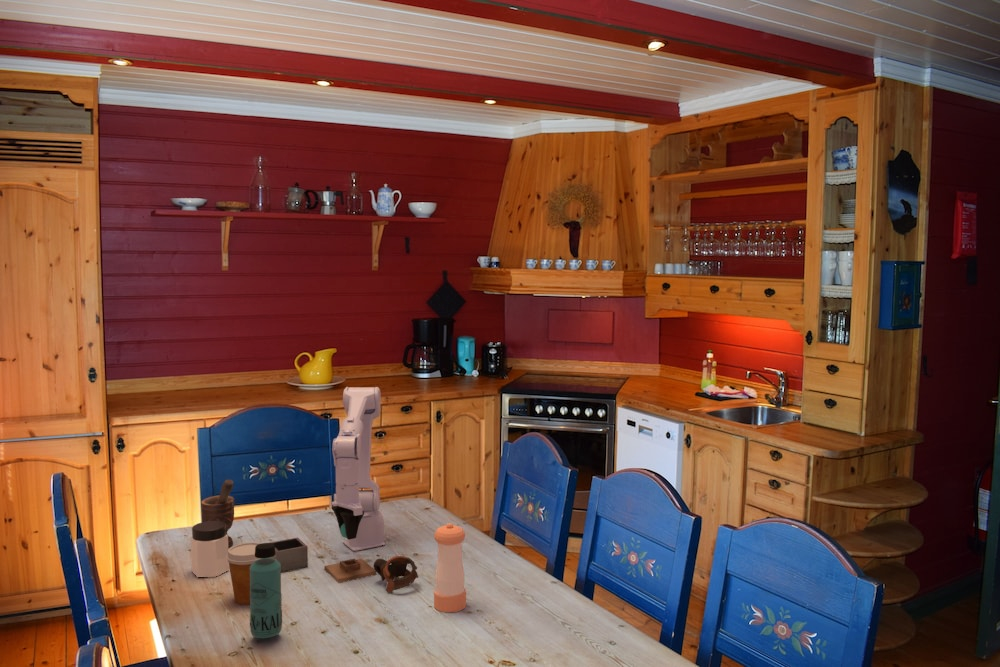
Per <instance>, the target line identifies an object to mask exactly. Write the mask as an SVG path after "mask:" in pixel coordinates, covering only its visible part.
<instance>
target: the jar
mask: <svg viewBox="0 0 1000 667" xmlns="http://www.w3.org/2000/svg"><path fill="white" fill-rule="evenodd" d="M226 531H227V528H226V524H225V523H224V522H221V521H207V522H203V521H202V522H199V523H196V524H194V525H193V526H192V528H191V532H192V533H191V534H192V536H191V537H190V550H191V551H190V553H191V554H190V555H191V557H190V558H191V573H192V572H193V573H194V574H195V575H196V578H198V577H208V578H217V577H219V576H221V575H223V574H225V573H227V572H229V571H230V567H229V562H228V560H227V558H226V556H227V554H228V550H229V548H228V536H229V534H228V533H227V534H226ZM227 532H228V531H227ZM226 571H227V572H226ZM224 572H225V573H224ZM193 573H192V574H193ZM222 573H223V574H222ZM194 574H193V575H194ZM195 575H194V576H195ZM216 576H217V577H216Z"/></svg>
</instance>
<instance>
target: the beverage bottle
mask: <svg viewBox="0 0 1000 667" xmlns="http://www.w3.org/2000/svg"><path fill="white" fill-rule="evenodd" d="M261 543H262V544H258V545H256V547H255V557H256V558H261V559H258V560H256V561H255V562H254V563H253V564H252V565H251V566H250V601H249V603H250V604H248V606H249V608H250V610H249V629H250V634H251V636H252V637H253V638H256V639H257V638H258V639H268V638H269V639H270V638H272V637H275V636H277V635H279V634H280V633H281V631H282V629H283V609H282V606H283V603H282V600H283V599H282V577H281V576H282V573H281V564H280V563H279V562H278V561H277V560H275V559H274V558H269V557H273V556H274V555H275V554H276V551H275V545H274V544H273V543H270V542H261Z"/></svg>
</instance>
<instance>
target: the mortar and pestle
mask: <svg viewBox="0 0 1000 667" xmlns="http://www.w3.org/2000/svg"><path fill="white" fill-rule="evenodd" d="M233 488H234V481H233V480H232V479H226V480H224V481H223V483H222V485H221V489H220V494H219V495H215V496H214V495H213V496H209V497H206V498H204V499H203V500H201V502H200V503H201V504H200V505H201V519H202V520H201V521H202V522H207V521H221V522H224V523H225V524H226V528H227V531H226V534H227V535H228V531H229V530H230V529H231V528H232V526H233V523H234V519H235V498H234V497H233V496H230V494H231V492H232V491H233ZM233 540H234V539H233V538H232V537H231V536H230V535H228V549H230V548H231V547H233V546H234V545H233V544H234V541H233Z"/></svg>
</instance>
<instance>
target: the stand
mask: <svg viewBox="0 0 1000 667" xmlns="http://www.w3.org/2000/svg"><path fill="white" fill-rule="evenodd" d="M323 568H324V571H325V572H326V573H327V572H328V573H327V574H328V575H329V574H330V575H331V576H330V575H329V576H330V577H331V578H333V580H334V581H336V583H338V584H340V583H343V581H345V582H349V581H353V580H352V579H354V580H358V579H357V578H359V579H362V578H361V577H363V578H367V577H366V576H368V577H372V576H376V575H377V572H376V571H375V569H374V567H372V565H370V564H369V563H367V562H366V561H365V560H364V559H363V558H358V559H357V558H356V559H355V558H351V559H346V560H342V561H340V560H339V562H337V563H332V564H327V565H324V567H323ZM375 574H376V575H375ZM371 575H372V576H371ZM348 580H349V581H348ZM339 582H340V583H339Z"/></svg>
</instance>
